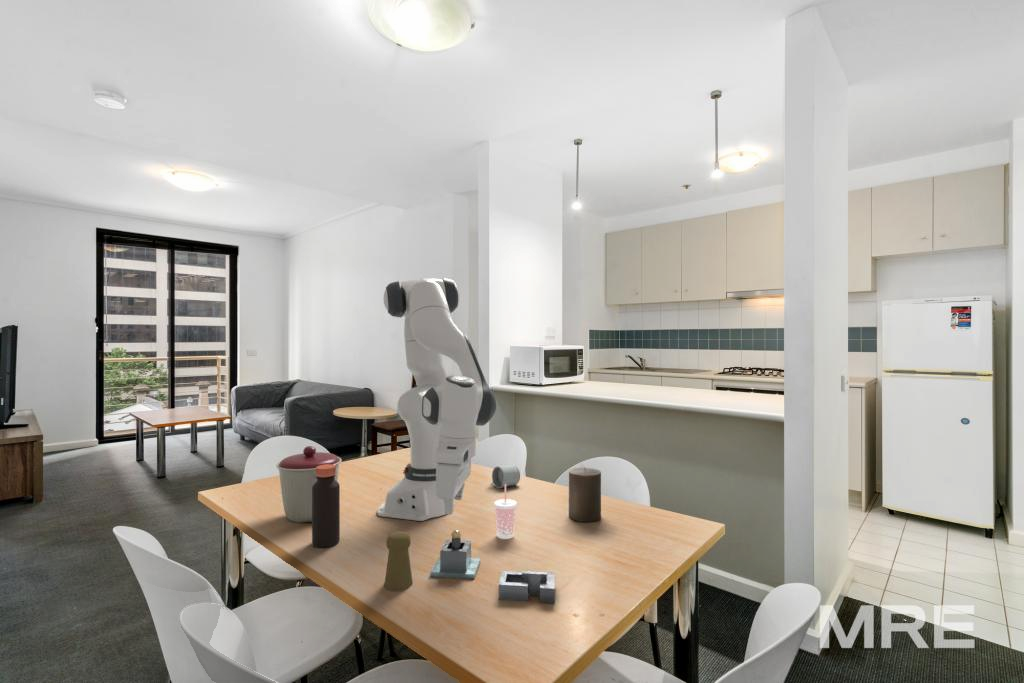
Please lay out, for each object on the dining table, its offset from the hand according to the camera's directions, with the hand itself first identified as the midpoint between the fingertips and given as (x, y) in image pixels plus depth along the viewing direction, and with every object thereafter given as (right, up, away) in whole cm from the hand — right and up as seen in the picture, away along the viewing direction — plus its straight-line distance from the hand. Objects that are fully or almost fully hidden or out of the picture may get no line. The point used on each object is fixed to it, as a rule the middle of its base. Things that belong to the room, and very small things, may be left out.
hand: (453, 505), depth 116 cm
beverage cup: (+12, -15, +19) cm, 27 cm away
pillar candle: (+35, -15, +34) cm, 51 cm away
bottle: (-35, -15, +14) cm, 41 cm away
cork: (-11, -15, -7) cm, 20 cm away
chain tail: (+16, -15, -11) cm, 24 cm away
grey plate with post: (+1, -15, 0) cm, 15 cm away
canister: (-47, -15, +34) cm, 60 cm away
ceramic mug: (+10, -15, +66) cm, 68 cm away
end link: (+1, -14, 0) cm, 14 cm away
